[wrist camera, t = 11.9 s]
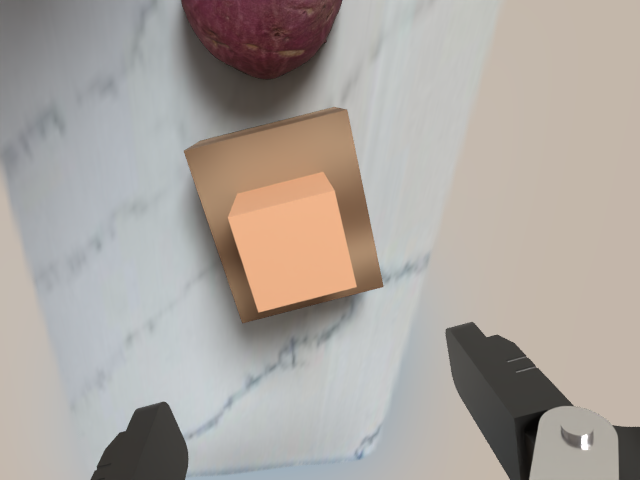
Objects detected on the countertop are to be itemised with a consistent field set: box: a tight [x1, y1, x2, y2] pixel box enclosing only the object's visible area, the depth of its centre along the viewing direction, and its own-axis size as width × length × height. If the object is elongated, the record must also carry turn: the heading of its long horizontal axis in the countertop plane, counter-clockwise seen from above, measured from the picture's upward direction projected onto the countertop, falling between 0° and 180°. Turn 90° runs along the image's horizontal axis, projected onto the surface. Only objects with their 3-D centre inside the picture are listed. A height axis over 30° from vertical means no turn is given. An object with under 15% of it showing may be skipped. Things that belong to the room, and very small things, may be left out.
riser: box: [184, 107, 383, 323], centre depth 30 cm, size 12×10×6 cm
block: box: [228, 172, 357, 313], centre depth 25 cm, size 6×6×6 cm
